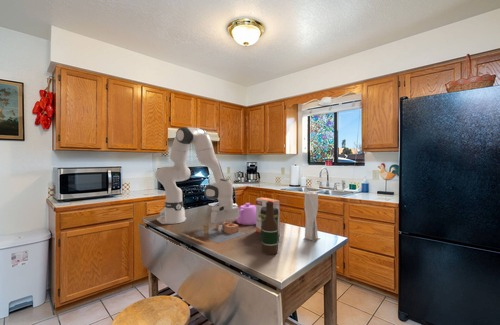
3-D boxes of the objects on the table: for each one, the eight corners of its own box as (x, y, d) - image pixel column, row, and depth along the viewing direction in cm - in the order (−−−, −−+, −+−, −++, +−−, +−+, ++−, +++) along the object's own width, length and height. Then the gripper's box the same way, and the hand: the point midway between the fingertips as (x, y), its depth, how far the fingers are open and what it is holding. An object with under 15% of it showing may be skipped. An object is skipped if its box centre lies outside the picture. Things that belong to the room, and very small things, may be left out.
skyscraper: (300, 239, 133) (300, 188, 132) (307, 235, 139) (307, 187, 138) (315, 242, 127) (315, 190, 127) (321, 238, 134) (321, 188, 133)
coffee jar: (281, 241, 128) (281, 207, 128) (271, 245, 123) (271, 209, 122) (267, 237, 135) (267, 204, 135) (258, 241, 130) (257, 206, 129)
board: (192, 234, 141) (192, 233, 140) (220, 227, 156) (220, 225, 156) (218, 245, 124) (218, 243, 124) (247, 235, 139) (247, 233, 139)
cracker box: (255, 233, 143) (255, 198, 143) (262, 230, 148) (262, 196, 147) (273, 238, 133) (272, 201, 133) (280, 236, 137) (280, 199, 137)
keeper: (209, 238, 134) (208, 227, 134) (203, 239, 133) (203, 227, 133) (207, 235, 139) (207, 224, 139) (202, 236, 138) (202, 224, 138)
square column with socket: (238, 231, 143) (238, 225, 143) (231, 234, 138) (231, 227, 138) (221, 226, 154) (221, 220, 154) (213, 228, 149) (213, 222, 149)
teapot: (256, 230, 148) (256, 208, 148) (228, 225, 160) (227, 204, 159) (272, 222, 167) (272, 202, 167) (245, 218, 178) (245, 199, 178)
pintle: (217, 235, 139) (217, 225, 139) (220, 234, 140) (220, 224, 140) (219, 236, 137) (219, 226, 137) (222, 235, 139) (222, 225, 139)
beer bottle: (260, 249, 118) (260, 200, 118) (276, 248, 119) (276, 200, 118) (263, 255, 111) (262, 203, 110) (279, 254, 111) (279, 203, 111)
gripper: (234, 202, 155) (234, 223, 156) (209, 207, 140) (209, 231, 141) (241, 203, 151) (241, 225, 151) (215, 209, 136) (216, 233, 136)
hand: (225, 228), depth 146 cm, fingers closed on square column with socket, 3 cm apart
